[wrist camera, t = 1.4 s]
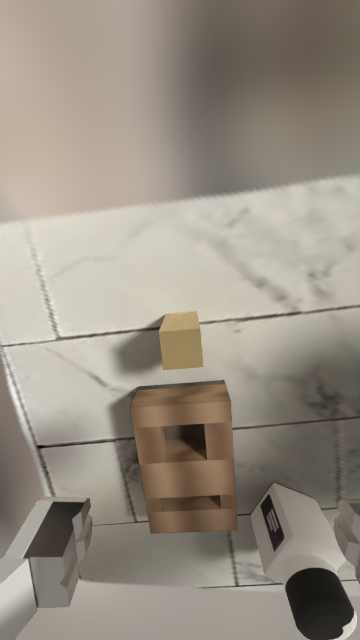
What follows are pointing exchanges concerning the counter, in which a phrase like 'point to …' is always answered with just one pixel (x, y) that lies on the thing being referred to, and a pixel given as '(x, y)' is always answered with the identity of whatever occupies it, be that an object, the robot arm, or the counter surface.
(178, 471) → the walnut socket block
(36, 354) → the counter surface
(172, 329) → the light wooden square bit
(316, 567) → the container
